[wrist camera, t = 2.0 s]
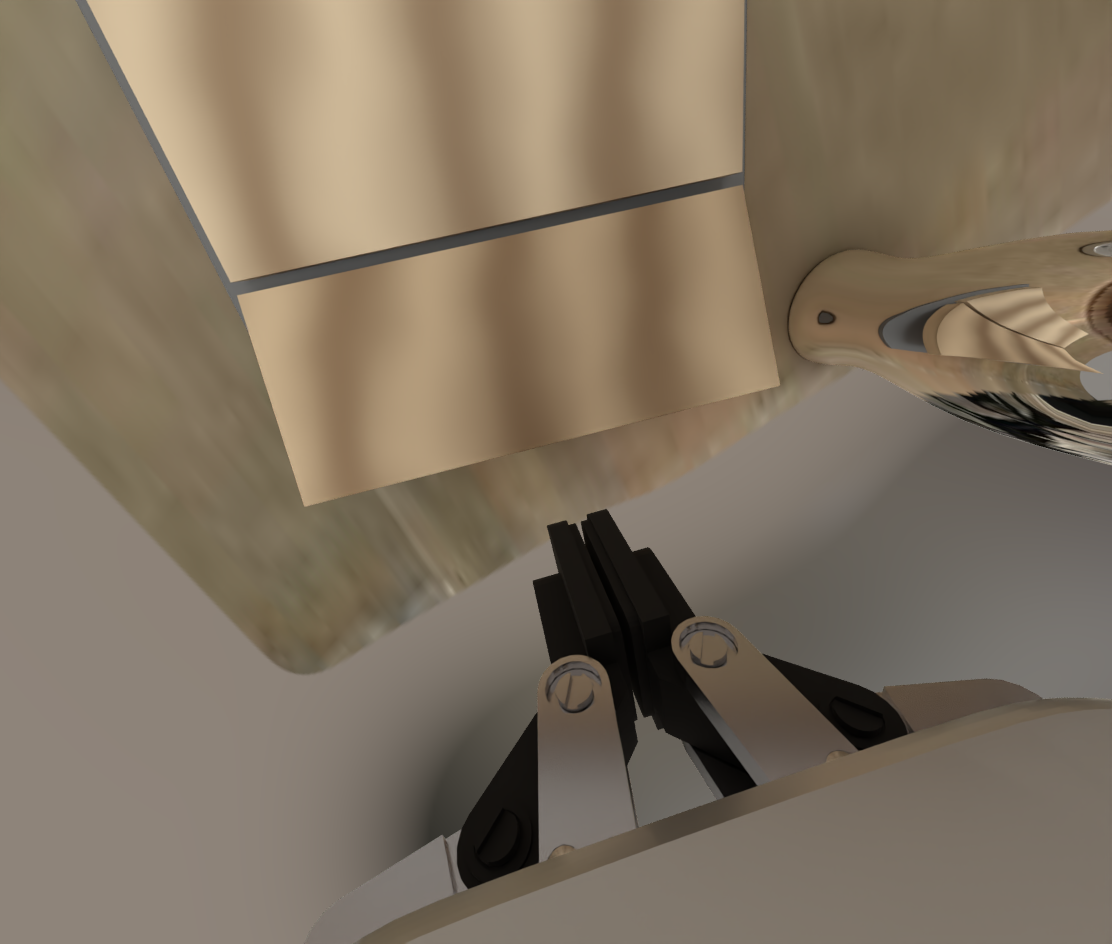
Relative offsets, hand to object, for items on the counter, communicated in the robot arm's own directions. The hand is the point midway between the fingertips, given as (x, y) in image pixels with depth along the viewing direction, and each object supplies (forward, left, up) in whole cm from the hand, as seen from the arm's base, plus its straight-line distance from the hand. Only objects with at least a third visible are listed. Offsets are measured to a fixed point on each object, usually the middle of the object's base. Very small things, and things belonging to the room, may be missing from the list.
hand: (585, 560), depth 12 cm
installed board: (0, -13, -14) cm, 19 cm away
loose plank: (0, -3, -11) cm, 12 cm away
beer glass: (-18, -1, -14) cm, 23 cm away
